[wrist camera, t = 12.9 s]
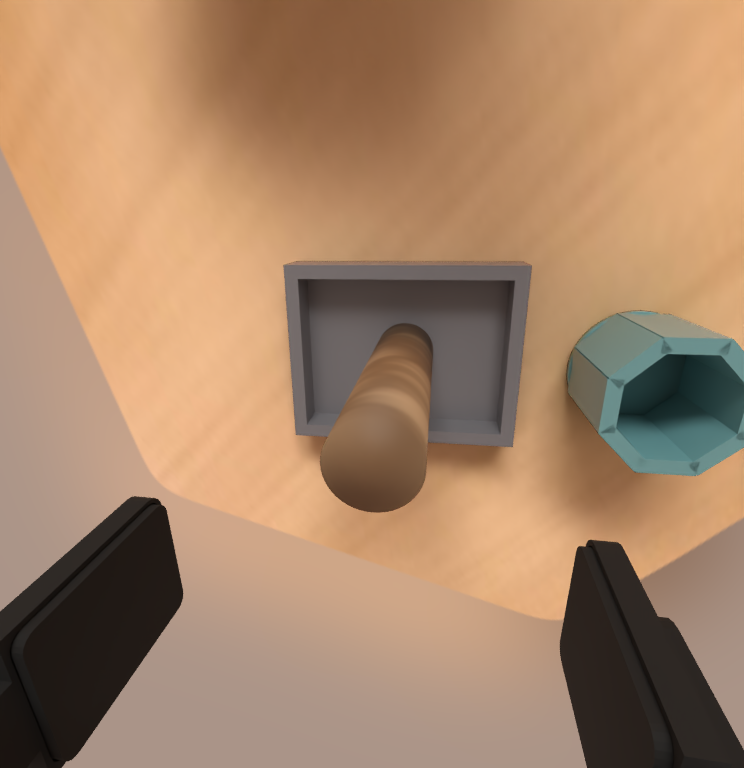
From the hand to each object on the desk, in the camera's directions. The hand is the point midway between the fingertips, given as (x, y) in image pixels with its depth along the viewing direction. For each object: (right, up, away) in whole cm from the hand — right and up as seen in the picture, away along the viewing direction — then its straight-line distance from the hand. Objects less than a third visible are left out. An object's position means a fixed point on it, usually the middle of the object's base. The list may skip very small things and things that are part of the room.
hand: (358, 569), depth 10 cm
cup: (+16, +5, +18) cm, 25 cm away
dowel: (+2, +6, +19) cm, 20 cm away
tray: (+2, +7, +20) cm, 21 cm away
